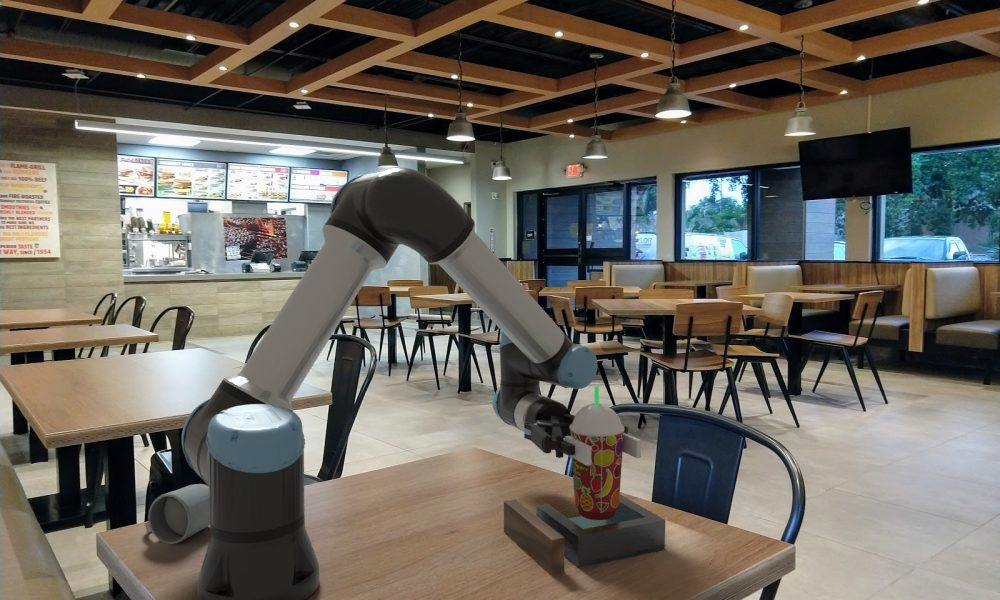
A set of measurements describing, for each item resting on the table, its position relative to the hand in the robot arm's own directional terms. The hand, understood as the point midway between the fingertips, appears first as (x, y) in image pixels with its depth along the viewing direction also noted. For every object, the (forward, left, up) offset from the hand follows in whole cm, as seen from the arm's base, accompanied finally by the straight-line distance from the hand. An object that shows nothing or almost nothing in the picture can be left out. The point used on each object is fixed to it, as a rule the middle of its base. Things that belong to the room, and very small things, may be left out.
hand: (614, 452), depth 100 cm
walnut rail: (-11, +5, -15) cm, 19 cm away
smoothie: (0, +5, -11) cm, 12 cm away
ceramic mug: (-60, +33, -15) cm, 70 cm away
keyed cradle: (0, +5, -15) cm, 16 cm away
